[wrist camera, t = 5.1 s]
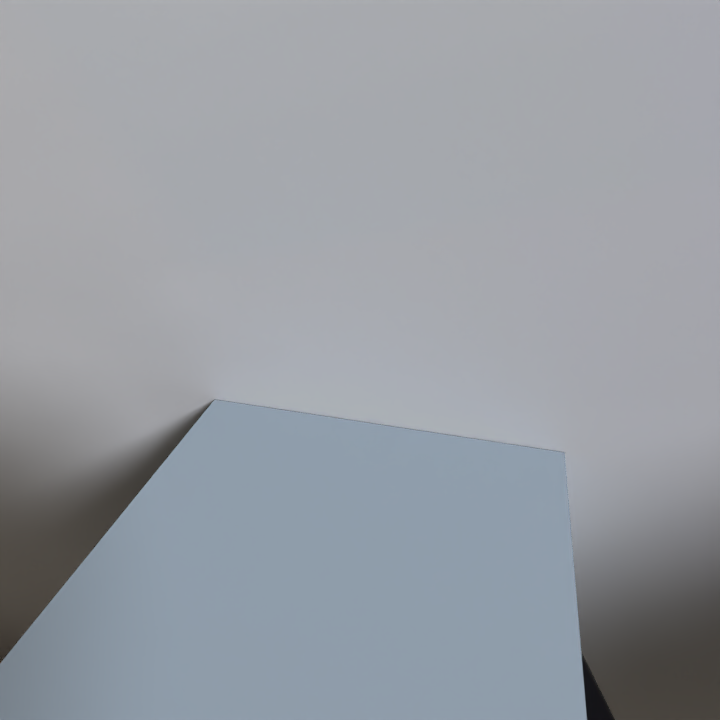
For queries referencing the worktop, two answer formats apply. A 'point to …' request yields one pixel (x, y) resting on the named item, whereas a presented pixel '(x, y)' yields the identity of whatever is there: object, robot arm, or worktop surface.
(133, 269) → the worktop surface
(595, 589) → the worktop surface
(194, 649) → the slate cube
